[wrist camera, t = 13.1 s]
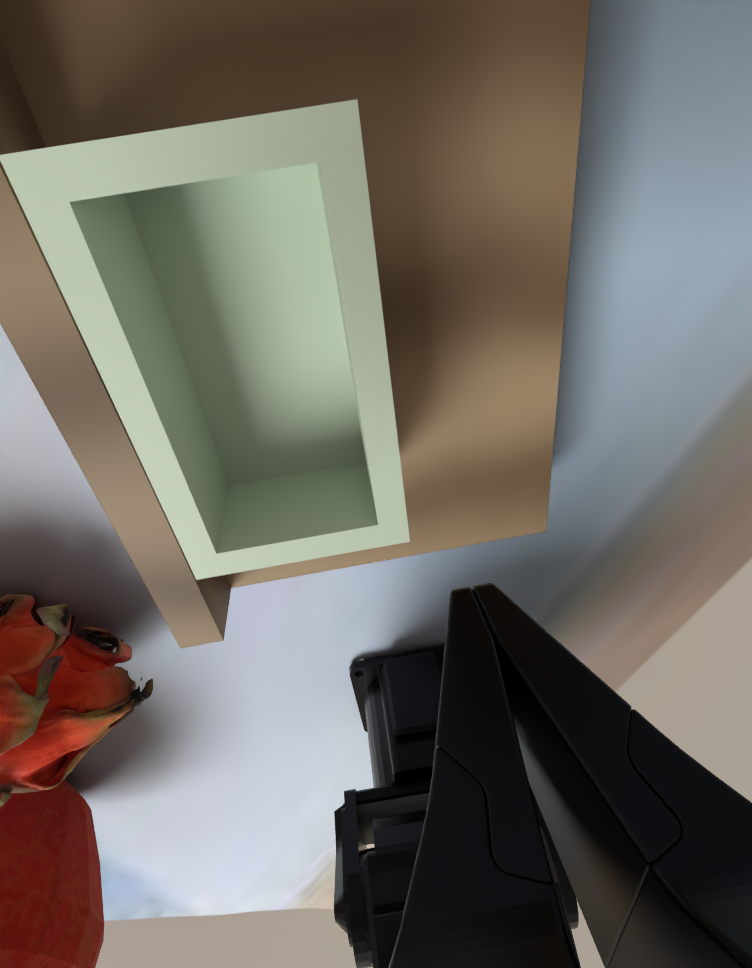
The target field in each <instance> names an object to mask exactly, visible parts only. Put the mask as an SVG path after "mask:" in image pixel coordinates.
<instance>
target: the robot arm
mask: <svg viewBox="0 0 752 968" xmlns="http://www.w3.org/2000/svg"><path fill="white" fill-rule="evenodd" d="M349 670H350V677H351V681H352V685H353V689H354V693H355V696H356V700H357V704H358V708H359V712H360V715H361V719H362V723H363V727H364V730H365V731H366V732H368V739H369V748H370V757H371V766H372V774H373V783H374V788H372V789H366V790H360V791H356V790H355V789H353V790H347V791H344V799H345V804H343V806H341V807H340V808H339V809H337V810H336V811H334V813H335V832H336V870H335V893H334V915H335V921H336V923H337V924H338V925H339V926H340V927H341V928H342V929H343V930H344V931H345V932H346V933H347V934H348V939H349V944H350V946H351V947H352V946H353V950H354V956H355V962H356V966H357V968H367V967H372V966H373V968H581V967H580V963H579V959H578V955H577V951H576V947H575V943H574V939H573V935H572V931H571V929H575V928H577V927H578V907H577V901H578V903H579V905H580V908H581V910H582V913H583V915H584V918H585V920H586V923H587V925H588V928H589V930H590V932H591V935H592V937H593V940H594V942H595V945H596V947H597V949H598V952H599V954H600V957H601V959H602V962H603V964H604V966H605V968H752V803H751V802H750V801H749V800H747V799H746V798H745V797H743V796H742V795H741V794H739V793H738V792H737V791H735V790H734V789H733V788H731V787H730V786H729V785H727V784H726V783H724V782H723V781H722V780H720V779H719V778H718V777H716V776H715V775H714V774H712V773H711V772H710V771H708V770H707V769H706V768H705V767H703V766H702V765H701V764H699V763H698V762H697V761H696V760H694V759H693V758H692V757H690V756H689V755H688V754H686V753H685V752H684V751H682V750H681V749H680V748H679V747H678V746H677V745H675V744H674V743H673V742H672V741H671V740H669V739H668V738H667V737H666V736H664V734H662V733H661V732H660V731H659V730H658V729H656V728H655V727H654V726H653V725H652V724H651V723H649V722H648V721H647V720H646V719H645V718H644V717H643V716H642V715H641V714H640V713H638V712H637V711H636V710H634V709H633V710H631V706H630V705H629V704H628V703H627V702H626V701H625V700H623V699H622V698H621V697H620V696H619V695H618V694H617V693H616V692H615V691H613V690H612V689H611V688H610V687H609V686H608V685H607V684H606V683H604V682H603V681H602V680H601V679H600V678H599V677H598V676H597V675H595V674H594V673H593V672H592V671H591V670H590V669H589V668H588V667H586V666H585V665H584V664H583V663H582V662H581V661H580V660H579V659H577V658H576V657H575V656H574V655H573V654H572V653H571V652H570V651H568V650H567V649H566V648H565V647H564V646H563V645H562V644H561V643H559V642H558V641H557V640H556V639H555V638H554V637H553V636H552V635H550V634H549V633H548V632H547V631H546V630H545V629H544V628H542V627H541V626H540V625H539V624H538V623H537V622H536V621H535V620H533V619H532V618H531V617H530V616H529V615H528V614H527V613H526V612H524V611H523V610H522V609H521V608H520V607H519V606H518V605H517V604H515V603H514V602H513V601H512V600H511V599H510V598H509V597H508V596H506V595H505V594H504V593H503V592H502V591H501V590H500V589H499V588H497V587H496V586H495V585H494V584H491V583H488V584H482V585H477V586H474V587H473V588H472V589H471V588H469V587H466V588H461V589H456V590H452V591H451V592H450V599H449V609H448V620H447V630H446V640H445V646H440V647H435V648H430V649H424V650H419V651H413V652H408V653H403V654H397V655H392V656H386V657H381V658H376V659H370V660H365V661H359V662H355V663H353V664H351V665H350V667H349ZM368 844H374V845H375V848H370V849H366V845H368ZM576 898H577V900H576Z"/></svg>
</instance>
